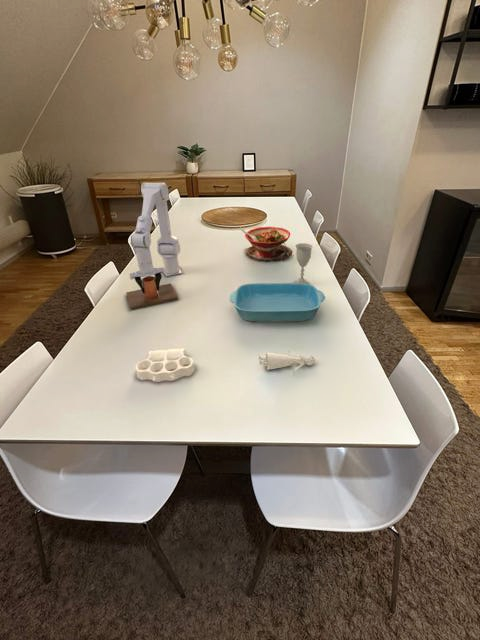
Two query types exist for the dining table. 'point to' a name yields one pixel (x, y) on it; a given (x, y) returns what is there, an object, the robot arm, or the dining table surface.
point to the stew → (268, 243)
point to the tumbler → (150, 286)
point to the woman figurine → (284, 360)
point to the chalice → (303, 258)
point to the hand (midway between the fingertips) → (150, 290)
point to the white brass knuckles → (165, 365)
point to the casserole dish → (277, 301)
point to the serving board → (164, 295)
